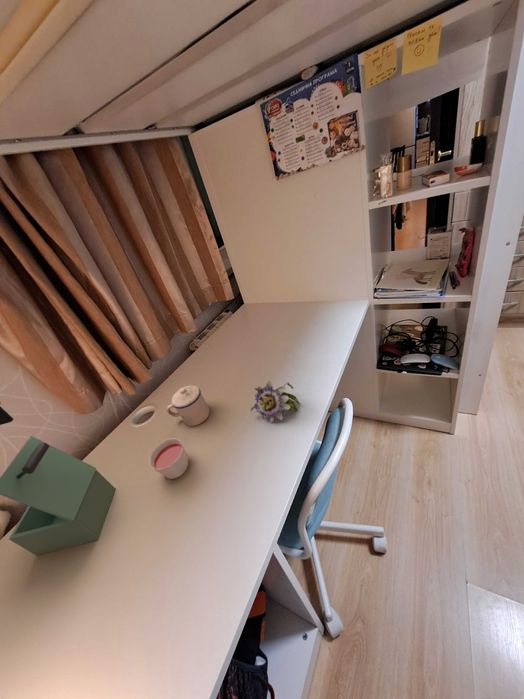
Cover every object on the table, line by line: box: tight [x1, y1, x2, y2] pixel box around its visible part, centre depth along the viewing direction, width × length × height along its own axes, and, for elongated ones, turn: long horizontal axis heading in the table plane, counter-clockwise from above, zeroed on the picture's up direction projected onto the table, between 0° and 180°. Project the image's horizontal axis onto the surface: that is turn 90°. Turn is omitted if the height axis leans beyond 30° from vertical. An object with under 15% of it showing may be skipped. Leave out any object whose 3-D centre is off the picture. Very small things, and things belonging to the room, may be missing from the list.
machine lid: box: [0, 435, 97, 522], centre depth 62 cm, size 16×13×5 cm
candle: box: [148, 437, 189, 480], centre depth 75 cm, size 9×9×6 cm
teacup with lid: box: [166, 384, 211, 427], centre depth 88 cm, size 12×9×12 cm
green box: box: [8, 469, 116, 556], centre depth 70 cm, size 16×13×9 cm
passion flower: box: [250, 380, 301, 424], centre depth 82 cm, size 11×11×12 cm
